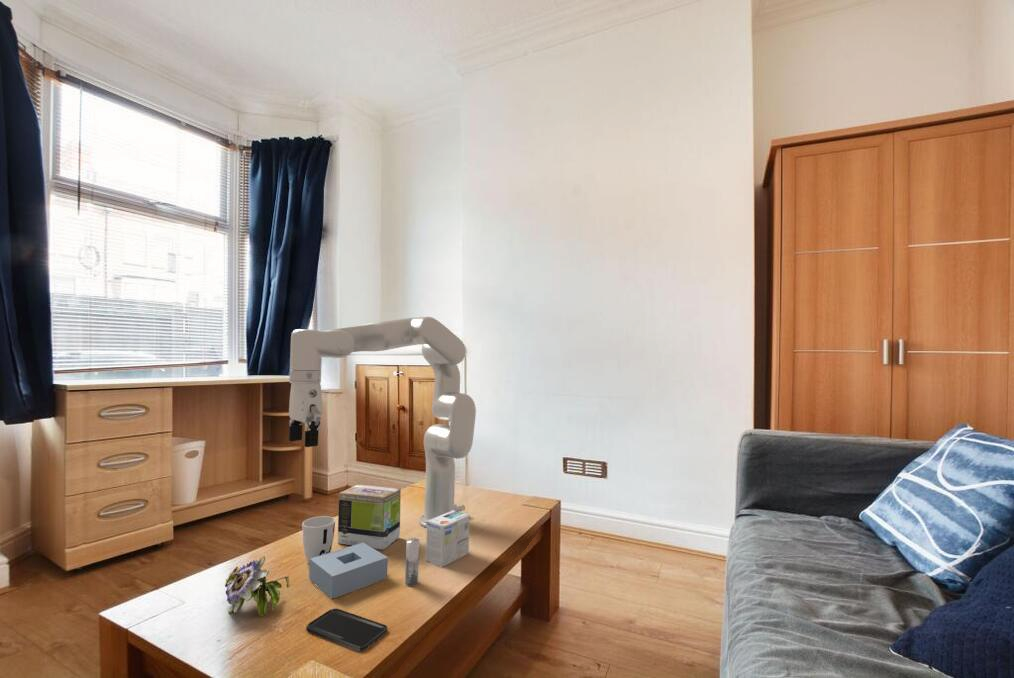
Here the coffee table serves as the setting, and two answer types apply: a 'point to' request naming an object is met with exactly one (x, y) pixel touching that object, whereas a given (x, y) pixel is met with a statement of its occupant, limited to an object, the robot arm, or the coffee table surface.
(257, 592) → the passion flower
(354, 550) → the hole block
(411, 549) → the pin
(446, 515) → the light bulb box
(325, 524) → the cup
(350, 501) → the tea box
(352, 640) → the phone
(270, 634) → the coffee table surface
